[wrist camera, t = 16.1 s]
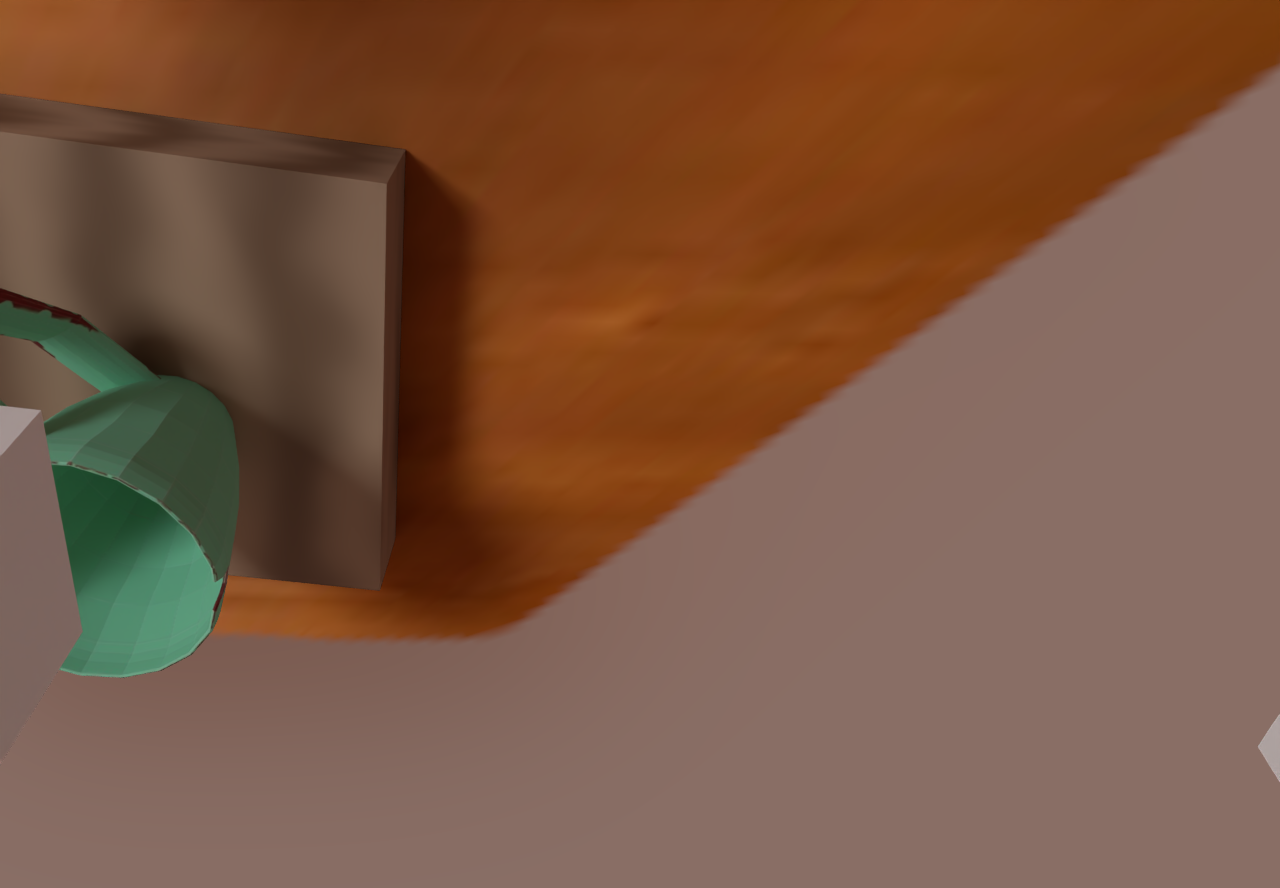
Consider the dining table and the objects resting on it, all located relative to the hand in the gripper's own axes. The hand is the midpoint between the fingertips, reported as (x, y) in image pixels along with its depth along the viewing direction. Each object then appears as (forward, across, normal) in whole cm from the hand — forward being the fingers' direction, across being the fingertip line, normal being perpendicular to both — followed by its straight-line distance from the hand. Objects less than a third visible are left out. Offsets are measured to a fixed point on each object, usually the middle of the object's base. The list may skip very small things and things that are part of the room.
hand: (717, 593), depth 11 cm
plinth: (+35, +19, +18) cm, 43 cm away
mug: (+31, +19, +18) cm, 40 cm away
